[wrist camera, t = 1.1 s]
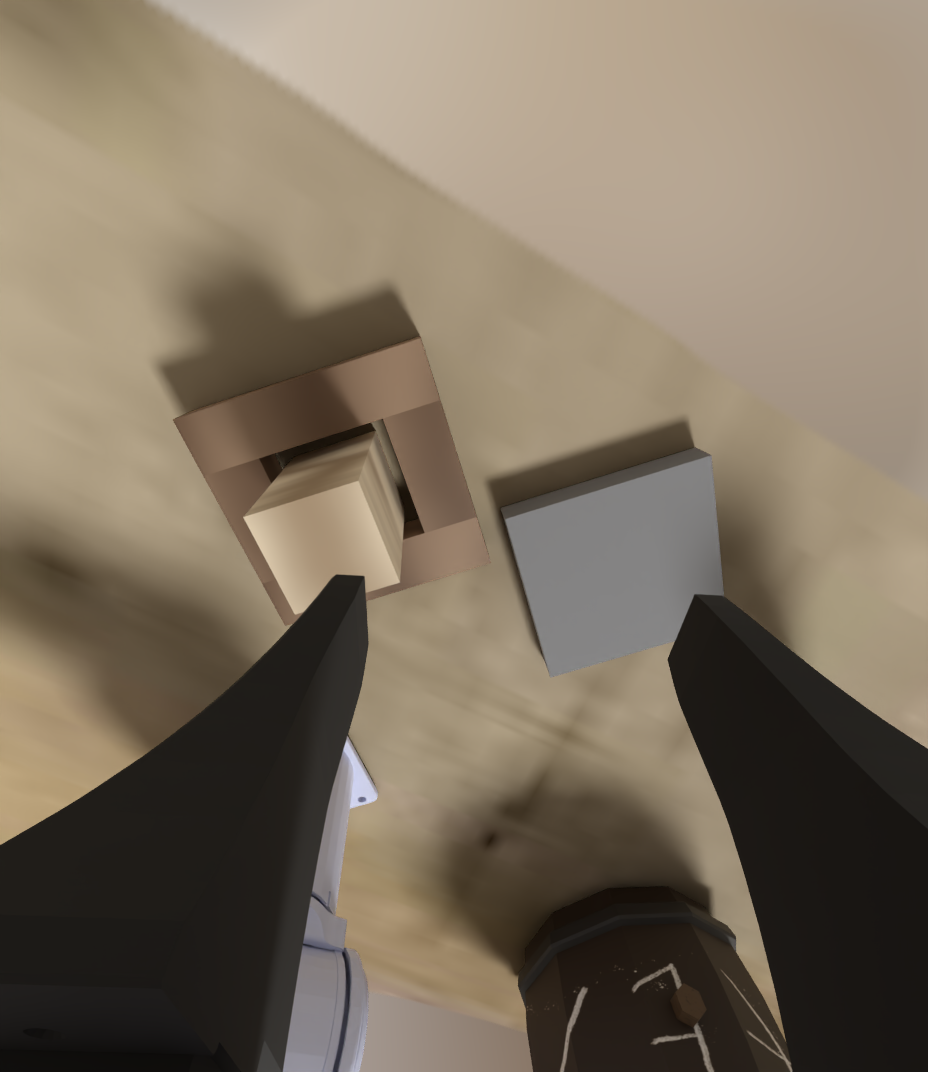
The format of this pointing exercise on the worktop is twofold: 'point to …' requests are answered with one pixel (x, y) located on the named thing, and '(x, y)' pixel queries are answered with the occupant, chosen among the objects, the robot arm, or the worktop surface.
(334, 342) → the worktop surface
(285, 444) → the pocket holder
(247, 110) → the worktop surface
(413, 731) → the worktop surface
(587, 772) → the worktop surface
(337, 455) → the maple block
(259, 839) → the robot arm
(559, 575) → the rubber pad
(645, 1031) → the wooden barrel
